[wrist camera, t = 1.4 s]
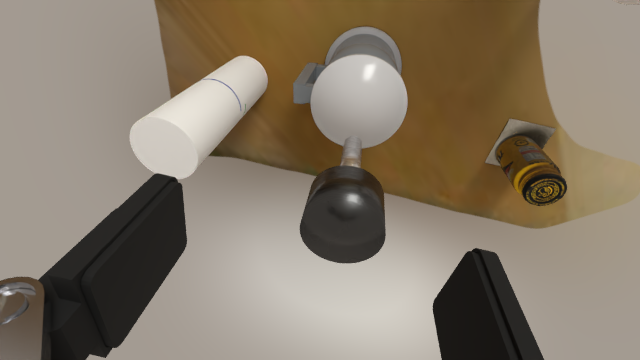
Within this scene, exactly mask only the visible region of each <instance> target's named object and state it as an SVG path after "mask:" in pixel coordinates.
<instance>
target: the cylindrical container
mask: <svg viewBox="0 0 640 360" xmlns="http://www.w3.org/2000/svg"><path fill="white" fill-rule="evenodd" d="M267 84H268V79H267V74H266V71H265V69H264V68H263V66H262V65H261V64H260V63H259V62H258V61H257V60H255V59H254V58H251V57H248V56H238V57H236V58H234V59H232V60H231V61H229V62H228V63H226V64H225V65H223V66H222V67H220V68H218V69H217V70H215V71H214V72H212V73H211V74H209V75H208V76H206V77H205V78H203V79H202V80H200V81H199V82H197V83H195V84H194V85H192V86H191V87H189V88H188V89H186V90H185V91H183V92H181V93H180V94H178V95H177V96H175V97H174V98H172V99H171V100H169V101H168V102H166V103H164V104H163V105H161V106H160V107H158V108H157V109H155V110H154V111H152V112H151V113H150V114H148V115H146V116H144V117H143V118H141V119H140V120H138V121H137V122H136V123H135V124H134V125H133V127H132V128H131V131H130V143H131V146H132V149H133V151H134V153H135V155H136V156H137V157H138V159H139V160H140V161H141V163H142V164H144V165H145V166H146V167H147V168H148V169H150V170H151V171H152V172H154V173H159V174H164V175H168V176H172V177H175V178H176V179H183V178H186V177H188V176H190V175H191V174H192V173H193V172H194V171H195V170H196V169H197V168H198V167H199V165H200V164H201V163H202V162H203V161H204V160H205V159H206V158H207V157H208V155H209V154H210V153H211V152H212V151H213V150H214V149H215V148H216V146H217V145H218V144H219V143H220V142H221V141H222V140H223V139H224V137H225V136H226V135H227V134H228V133H229V132H230V131H231V130H232V128H233V127H234V126H235V125H236V124H237V123H238V122H239V120H240V119H241V118H242V117H243V116H244V115H245V114H246V113H247V111H248V110H249V109H250V108H251V107H252V106H253V105H254V103H255V102H256V101H257V100H258V99H259V98H260V97H261V96H262V94H263V93H264V92H265V90H266V88H267Z"/></svg>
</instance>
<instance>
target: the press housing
mask: <svg viewBox="0 0 640 360" xmlns="http://www.w3.org/2000/svg"><path fill="white" fill-rule="evenodd" d="M401 68H402V62H401V56H400V52H399V49H398V47H397V45H396V43H395V42H394V40H393V39H392V38H391V37H390V36H389V35H388V34H387V33H385V32H384V31H382V30H380V29H378V28H374V27H369V26H361V27H356V28H352V29H350V30H348V31H346V32H344V33H343V34H341V35H340V36H339V37H338V38H337V39H336V40H335V41H334V43H333V44H332V46H331V47H330V49H329V51H328V54H327V56H326V61H325V65H318V63H308V64H307V65H306V66H305V68H304V69H303V71H302V72H301V73H300V75H299V76H298V78H297V79H296V81H295V82H294V83H293V91H294V103H299V104H305V103H311V112H312V116H313V119H314V121H315V123H316V125H317V126H318V128H319V129H320V131H321V132H322V133H323V134H324V135H325V136H326V137H327V138H329V139H330V140H331V141H333V142H335V143H337V144H339V145H341V146H344V141H345V139H346V138H348V137H350V136H356V137H358V138H360V139H361V141H362V148H368V147H372V146H375V145H378V144H380V143H382V142H384V141H385V140H387V139H388V138H390V137H391V136H392V135H393V134H394V133H395V132H396V131H397V130H398V128H399V127H400V125H401V124H402V122H403V120H404V117H405V115H406V111H407V104H408V101H407V92H406V88H405V84H404V82H403V80H402V78H401V76H400V75H401Z"/></svg>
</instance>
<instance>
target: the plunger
mask: <svg viewBox="0 0 640 360" xmlns="http://www.w3.org/2000/svg"><path fill="white" fill-rule="evenodd" d="M361 154H362V141H361V139H360V138H358V137H356V136H350V137H348V138H346V139H345V141H344V146H343V152H342V157H341V163H340V166H336V167H332V168H329V169H327V170H325V171H323V172H322V173H320V174H319V175H318V176H317V177H316V178H315V180H314V181H313V183H312V185H311V189H310V192H309V196H308V199H307V203H306V206H305V210H304V213H303V217H302V220H301V224H300V234H301V237H302V240H303V242H304V243H305V244H306V246H307V247H308V248H309V249H310V250H311V251H312V252H313V253H315V254H316V255H318V256H320V257H322V258H324V259H326V260H329V261H333V262H337V263H356V262H360V261H364V260H367V259H369V258H371V257H372V256H374V255H375V254H376V253H377V252H379V250H380V249H381V247H382V246H383V244H384V241H385V210H384V192H383V189H382V186H381V184H380V183H379V181H378V180H377V179H376V178H375V177H374V176H373V175H372V174H371V173H369V172H367V171H366V170H364V169H361Z"/></svg>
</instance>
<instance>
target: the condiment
mask: <svg viewBox="0 0 640 360" xmlns="http://www.w3.org/2000/svg"><path fill="white" fill-rule="evenodd" d="M555 130H556V129H554V128H550V127H546V126H542V125H538V124H533V123H529V122H524V121H520V120H515V119H509V121H508V123H507V125H506V126H505V128H504V130H503V132H502V133H501V135H500V137H499V139H498V140H497V142H496V143H495V145H494V147H493V149H492V150H491V152H490V154H489V156H488V157H487V159H486V161H485V163H488V164H493V165H498V166H501V168H502V169H503V171H504V172H505V174H506V175H507V177H508V179H509V180H510V182H511V183H512V185H513V187H514V188H515V190H516V191H517V192H518V193H520V194H521V195H522V196H523V197H524V199H525V200H526V201H527V202H529V203H530V204H533V205H537V206H544V205H549V204H552V203H554V202H556V201H558V200H559V199H561V198H562V197H563V196H564V194H565V193H566V190H567V184H566V181H565V179H564V178H562V176H561V172H560V170H559V168H558V167H557V166H556V165H555V164H554V163H553V161H552V160H551V159H550V158H549V157H548V156H547V155H546V154H545V153H544V151H543V150H542V149H543V147H544V145H545V144H546V143H547V141H548V139H549V138H550V137H551V136H552V134H553V133H554V131H555ZM516 132H517V133H516ZM514 133H515V134H514Z"/></svg>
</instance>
